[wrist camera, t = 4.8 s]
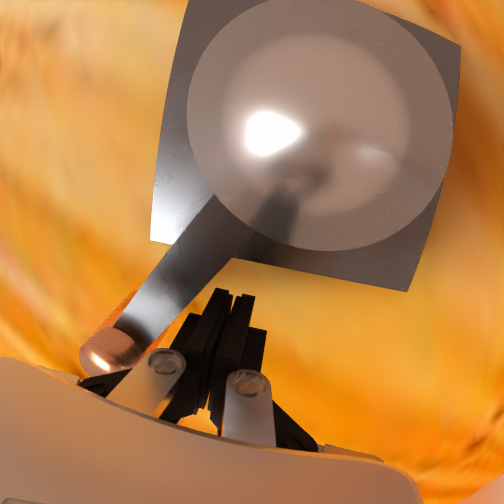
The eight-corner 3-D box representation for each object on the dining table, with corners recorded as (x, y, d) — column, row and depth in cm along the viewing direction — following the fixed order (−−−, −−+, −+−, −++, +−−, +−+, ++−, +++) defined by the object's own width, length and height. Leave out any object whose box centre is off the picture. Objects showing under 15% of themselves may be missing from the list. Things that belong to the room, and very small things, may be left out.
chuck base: (433, 59, 11) (460, 46, 8) (388, 266, 15) (406, 292, 12) (210, 8, 11) (193, -16, 8) (173, 222, 16) (150, 239, 13)
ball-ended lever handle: (303, 10, 8) (309, -50, 4) (432, 131, 9) (497, 132, 5) (87, 283, 14) (36, 327, 10) (187, 366, 15) (161, 428, 11)
